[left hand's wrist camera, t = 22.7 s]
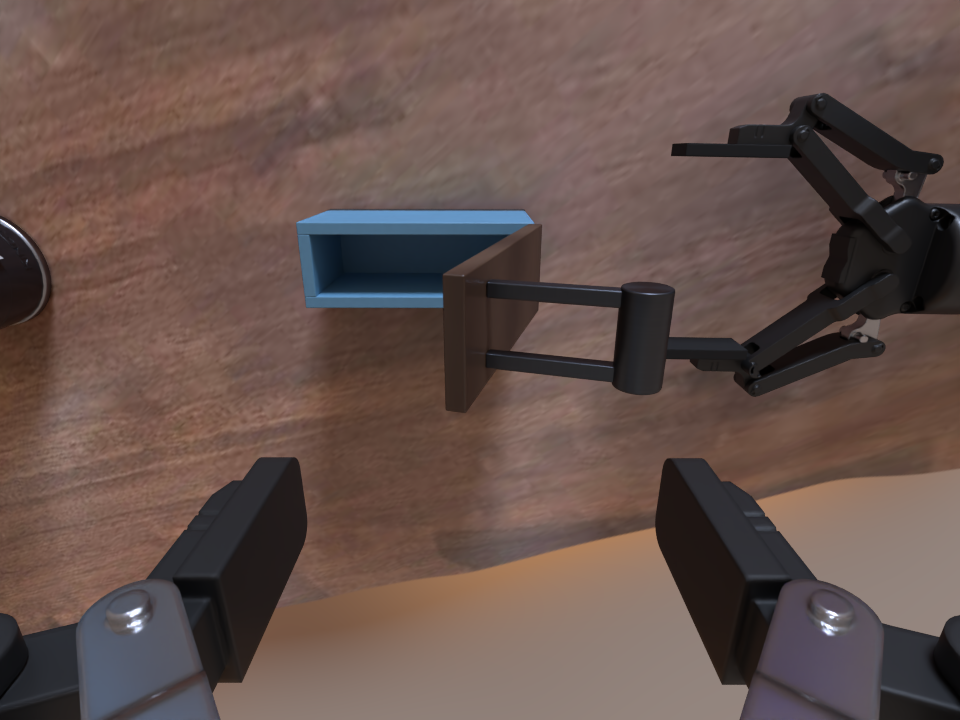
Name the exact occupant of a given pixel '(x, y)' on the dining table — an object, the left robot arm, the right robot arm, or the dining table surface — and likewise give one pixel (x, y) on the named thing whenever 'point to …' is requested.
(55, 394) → the dining table surface
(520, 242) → the lid
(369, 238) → the chest
